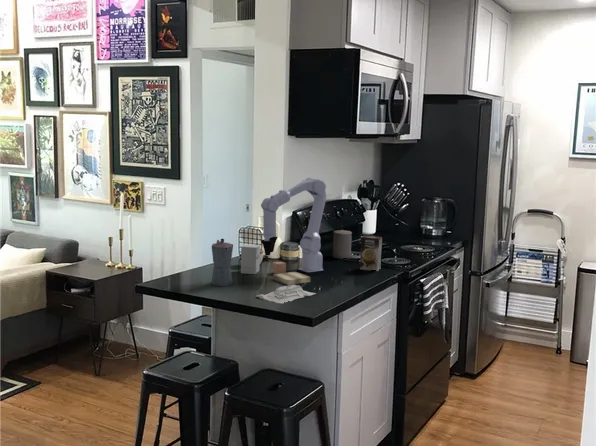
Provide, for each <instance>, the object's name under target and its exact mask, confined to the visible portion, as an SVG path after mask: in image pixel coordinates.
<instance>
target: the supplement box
mask: <svg viewBox="0 0 596 446" xmlns="http://www.w3.org/2000/svg"><path fill="white" fill-rule="evenodd" d="M260 247H261V245H259V244H244V245H243V246H241V248H240V249H241V251H240V273H241V274H247V275H256V274H257V273H258V272H260V264H261V263H260V249H261V248H260Z"/></svg>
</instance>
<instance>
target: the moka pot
mask: <svg viewBox="0 0 596 446" xmlns="http://www.w3.org/2000/svg"><path fill="white" fill-rule="evenodd" d="M233 249H234V244H233V243H230V242H225V238H221V239H220V240H219V239H217V240H216V243H212V244H211V253H212V263H213V269H212V275H211V276H212V277H211V282H210V283H211V284H212V286H216V287H228V286H231V285H232V284H233V278H232V269H231V263H232V257H233Z"/></svg>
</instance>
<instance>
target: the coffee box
mask: <svg viewBox="0 0 596 446" xmlns="http://www.w3.org/2000/svg"><path fill="white" fill-rule="evenodd" d="M360 243H361V245H360V256H359V257H360V259H359V260H360V261H359V269H360V270H363V271H371V270H376V271H375V272H379V271H380V270H381V265H382V264H381V261H382V249H383V248H382V245H383V237H382V236H373V235H362V236H361V241H360ZM379 269H380V270H379Z"/></svg>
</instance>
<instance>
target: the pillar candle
mask: <svg viewBox="0 0 596 446" xmlns="http://www.w3.org/2000/svg"><path fill="white" fill-rule="evenodd" d="M352 234H353V232H352V231H350V230H344V229H343V228H342V229H340V230H339V229H338V230H333V242H332V244H333V245H332V246H333V247H332V258H334V259H342V260H343V258H347V257H350V258H351V256H352V255H351V254H352ZM347 259H348V258H347Z"/></svg>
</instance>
